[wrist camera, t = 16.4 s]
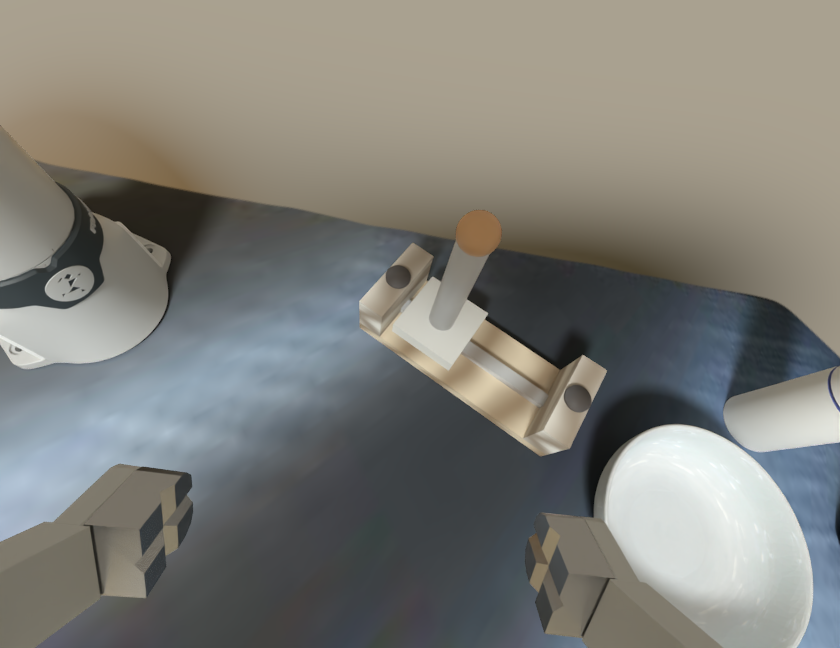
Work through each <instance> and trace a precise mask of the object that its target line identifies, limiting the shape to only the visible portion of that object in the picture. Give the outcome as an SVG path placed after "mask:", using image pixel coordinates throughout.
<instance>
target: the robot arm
mask: <svg viewBox="0 0 840 648" xmlns="http://www.w3.org/2000/svg"><path fill="white" fill-rule="evenodd" d="M151 251H153V252H152V253H150V252H151ZM170 262H171V254H170V253H169V252H168V251H167V250H166V249H165V248H164V247H162V246H159V245H157V244H155V243H153V242H151V241H149V240H146V239H144V238H142V237H140V236H138V235H136V234H134V233H131V232H130V231H129V230H128V229H127V228H126V227H125V226H124V225H123V224H122V223H121V222H119V221H117V222H114V221H112V220H110V219H108V218H106V217H104V216H101V215H98V214H96V213H93V212H90V209H89V208H88V207H87V205H86V204H85V203H84V202H83V201H82V200H81V199H80V198H79V197H76V196H75V195H74V194H73V193H72V192H71V191H70V190H69V189H67V188H66V187H64V186H63V185H61V184H59V183H57V182H55V181H53V180H52V178H51V177H50V176H49V175H48V174H47V173H46V172H45V171H44V170H43V169H42V168H41V167H40V166H39V165H38V164H37V163H36V162H35V161H34V160H33V159H32V158H31V156H30V155H29V154H28V153H27V152H26V151H25V150H24V149H23V148H22V147H21V146H20V145H19V144H18V143H17V142H16V141H15V140H14V139H13V138H12V137H11V135H10V134H9V133H8V132H7V131H6V130H5V129H4V128H3V127H2V126H1V125H0V345H1V346H2V348H3V349H4V351H5V352H6V354H7V355H8V357H9V359H10V360H11V362H12V363H13V364H15V365H17V366H18V367H20V368H22V369H33V368H38V367H42V366H45V365H49V364H52V363H92V362H98V361H102V360H106V359H109V358H112V357H115V356H117V355H119V354H122V353H124V352H126V351H128V350H129V349H131V348H133V347H134V346H136V345H137V344H139V343H140V342H141V341H142V340H144V339H145V338H146V337H147V336H148V335H149V334H150V333H151V332H152V331H153V330H154V328H155V327H156V326H157V325H158V323H159V322H160V320H161V318H162V316H163V314H164V312H165V309H166V306H167V302H168V285H167V280H166V273H167V271H168V268H169V265H170ZM21 349H22V351H21ZM191 488H192V479H191V475H190V474H188V473H185V472H178V471H171V470H164V469H156V468H149V467H138V466H131V465H124V464H118V465H115V466H113V467H111V468H110V469H109V470H108V471H107V472H105V473H104V474H103V475H102V476H101V477H100V478H99V479H98V480H97V481H96V482H95V483H94V484H93V485H92V486H91V487H90V488H89V489H88V490H86V491H85V492H84V493H83V494H82V495H81V496H80V497H79V498H78V499H77V500H76V501H75V502H74V503H73V504H72V505H71V506H70V507H68V508H67V509H66V510H65V511H64V512H63V513H62V514H61V515H60V516H59V517H58V518H57V519H56V520H55V521H54V522H43V523H41V524H39V525H37V526H34V527H32V528H30V529H28V530H26V531H23V532H21V533H19V534H17V535H15V536H13V537H10V538H8V539H6V540H4V541H2V542H0V648H35V647H36V646H37V645H39V644H40V643H41V642H43V641H44V640H45V639H47V638H48V637H49V636H51V635H52V634H53V633H55V632H56V631H57V630H59V629H60V628H61V627H63V626H64V625H66V624H67V623H68V622H70V621H71V620H72V619H74V618H75V617H76V616H78V615H79V614H80V613H82V612H83V611H84V610H86V609H87V608H88V607H90V606H91V605H92V604H94V603H95V602H96V601H98V600H99V599H100V598H101V595H103V596H121V597H138V598H147V596H148V595H149V593H150V591H151V590H152V588H153V587H154V585H155V584H156V582H157V581H158V579H159V577H160V576H161V574H162V573H163V571H164V570H165V568H166V556H167V555H168V554H170V553H171V552H173V551H174V550H176V549H177V548H179V546H180V544H181V543H182V541H183V539H184V538H185V536H186V534H187V531H188V529H189V526H190V523H191V520H192V514H193V502H192V501H191V500H190V498H189V497H188V496H187V493H188V492H189V491H190V489H191ZM533 525H534V528H535V530H536V533H535V534H534V535H533V536H531V537H530V538H529V539H528V542H527V546H526V549H525V566H526V572H527V576H528V579H529V583H530V584H531V585H532V586H533V587H534V588H535V589H536V590H537V592H538V596H537V598H536V601H535V603H536V607H537V610H538V613H539V617H540V620H541V623H542V627H543V630H544V633H545V634H553V635H562V636H570V637H578V638H583V639H582V641H583V642H584V644H585V645H586V646H587V647H588V648H723V647H722V646H721V645H720V644H718V643H717V642H716V641H715V640H714V639H713V638H711V637H710V636H709V635H708V634H707V633H705V632H704V631H703V630H702V629H701V628H699V627H698V626H697V625H696V624H695V623H693V622H692V621H691V620H690V619H689V618H688V617H686V616H685V615H684V614H683V613H682V612H680V611H679V610H678V609H677V608H676V607H674V606H673V605H672V604H671V603H670V602H668V601H667V600H666V599H665V598H664V597H663V596H661V595H660V594H659V593H658V592H657V591H655V590H654V589H653V588H652V587H651V586H649V585H648V584H647V583H644V582H639V580H638V578H637V576H636V575H635V573H634V571H633V569H632V568H631V566H630V564H629V563H628V561H627V559H626V557H625V556H624V554H623V552H622V550H621V549H620V547H619V545H618V544H617V542H616V540H615V538H614V537H613V535H612V533H611V531H610V530H609V528H608V526H607V524H606V523H605V522H604V521H603V520H602V519H601V518H591V517H578V516H570V515H560V514H550V513H539V514H538V515H537V516H536V519H535V522H534V524H533Z"/></svg>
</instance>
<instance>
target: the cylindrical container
mask: <svg viewBox="0 0 840 648" xmlns="http://www.w3.org/2000/svg"><path fill="white" fill-rule="evenodd" d="M723 416H724V421H725V424H726V427H727V429H728V431H729V432H730V434H731V435H732V436H733V438H734V439H735V440H736V441H737V442H738V443H740V444H741V445H742V446H744V447H745V448H747V449H749V450H752V451H755V452H767V451H775V450H783V449H791V448H798V447H806V446H814V445H822V444H829V443H837V442H840V366H837V367H834V368H830V369H827V370H823V371H820V372H816V373H813V374H809V375H806V376H802V377H799V378H795V379H792V380H789V381H785V382H782V383H778V384H775V385H771V386H768V387H764V388H761V389H757V390H754V391H750V392H747V393H744V394H740V395H737V396H733V397H731V398H730V399H729V400H727V402H726V403H725V405H724V409H723Z"/></svg>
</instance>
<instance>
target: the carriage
mask: <svg viewBox="0 0 840 648" xmlns="http://www.w3.org/2000/svg"><path fill="white" fill-rule="evenodd" d="M501 236H502V229H501V225H500V222H499V221H498V219H497V218H496V217H495V216H494V215H493V214H492V213H490V212H488V211H485V210H474V211H471V212H469V213H467V214H466V215H464V216H463V217H462V218H461V220H460V221H459V223H458V225H457V227H456V241H455V244H454V247H453V250H452V253H451V256H450V258H449V261H448V264H447V267H446V270H445V272H444V275H443V278H442V281H441V282H440V281H439V280H437V279H436V278H434V277H432V278H431V279H430V280H429V281H428V283H427V284H426V285H425V286H424V287H423V289H422V290H421V291H420V292H419V293H418V295H417V296H416V297H415V298H414V299H413V301H412V302H411V303H410V304H409V306H408V307H407V308H406V309H405V310H404V312H403V313H402V314H401V315H400V316H399V318H398V319H397V320H396V321H395V322H394V324H393V328H392V331H393V332H394V333H396V334H397V335H398V336H400V337H401V338H403V339H404V340H405V341H407V342H408V343H410V344H411V345H413V346H414V347H415V348H417V349H418V350H420V351H421V352H423V353H424V354H425V355H427V356H428V357H430V358H431V359H432V360H434V361H435V362H437V363H438V364H440V365H441V366H442V367H444V368H445V369H447V370H448V371H449V370H450V368H451V367H452V365H453V364H454V362H455V361H456V360H457V358H458V357H459V355H460V354H461V352H462V351H463V350H464V348H465V347H466V345H467V344H468V342H469V341H470V340H471V338H472V337H473V335H474V334H475V332H476V331H477V330H478V328H479V327H480V325H481V324H482V322H483V321H484V319H485V318H486V316H487V315H488V313H487V312H485V311H484V310H482V309H481V308H479V307H478V306H476V305H475V304H473V303H472V302H470V301H469V300H467V297H468V295H469V293H470V291H471V290H472V288H473V286H474V284H475V282H476V280H477V278H478V276H479V274H480V272H481V270H482V268H483V266H484V264H485V262H486V260H487V258H488V256H489V254H490V253H491V252H493V251H494V250H495V249H496V248H497V246H498V245H499V243H500V240H501Z"/></svg>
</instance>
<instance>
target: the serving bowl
mask: <svg viewBox="0 0 840 648" xmlns="http://www.w3.org/2000/svg"><path fill="white" fill-rule="evenodd" d="M594 518H601V519H602V520H603V521H604V522H605V523H606V524H607V526H608V528H609V530H610V531H611V533H612V535H613V537H614V538H615V540H616V542H617V544H618V545H619V547H620V549H621V550H622V552H623V554H624V556H625V557H626V559H627V561H628V563H629V564H630V566H631V568H632V569H633V571H634V573H635V575H636V576H637V578H638V580H639V582H644V583H647V584H648V585H649V586H651V587H652V588H653V589H654V590H655V591H657V592H658V593H659V594H660V595H661V596H663V597H664V598H665V599H666V600H667V601H668V602H670V603H671V604H672V605H673V606H674V607H676V608H677V609H678V610H679V611H680V612H682V613H683V614H684V615H685V616H686V617H688V618H689V619H690V620H691V621H692V622H693V623H695V624H696V625H697V626H698V627H699V628H701V629H702V630H703V631H704V632H705V633H707V634H708V635H709V636H710V637H711V638H713V639H714V640H715V641H716V642H717V643H718V644H720V645H721V646H722V647H723V648H796V647H797V646H798V645H799V643H800V641H801V639H802V637H803V636H804V634H805V631H806V629H807V626H808V623H809V619H810V615H811V610H812V602H813V574H812V567H811V561H810V556H809V551H808V548H807V544H806V541H805V538H804V535H803V532H802V530H801V527H800V525H799V522H798V520H797V518H796V516H795V514H794V512H793V510H792V508H791V506H790V504H789V503H788V501H787V499H786V498H785V496H784V495H783V493H782V492H781V490H780V489H779V487H778V486H777V485H776V483H775V482H774V481H773V479H772V478H771V477H770V476H769V474H768V473H767V472H766V471H765V470H764V469H763V468H762V467H761V466H760V465H759V464H758V463H757V462H756V461H755V460H754V459H753V458H752V457H751V456H750V455H749V454H747V453H746V452H745V451H744V450H742V449H741V448H740V447H738V446H737V445H735V444H734V443H732V442H731V441H729V440H728V439H726V438H724V437H722V436H720V435H718V434H716V433H713V432H711V431H709V430H706V429H703V428H699V427H695V426H691V425H683V424H668V425H662V426H657V427H654V428H651V429H648V430H646V431H644V432H642V433H640V434H638V435H637V436H635V437H633V438H632V439H630V440H629V441H627V442H626V443H625V444H623V445H622V446H621V447H620V448H619V449H618V450H617V451H616V452H615V453H614V454H613V456H612V457H611V458H610V460H609V461H608V463H607V464H606V466H605V468H604V470H603V472H602V474H601V476H600V479H599V482H598V485H597V489H596V494H595V500H594Z"/></svg>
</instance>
